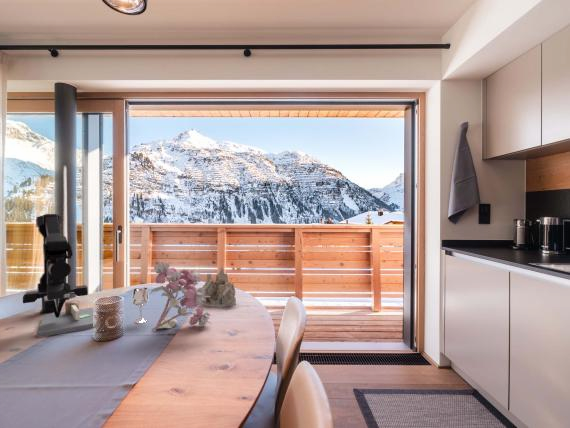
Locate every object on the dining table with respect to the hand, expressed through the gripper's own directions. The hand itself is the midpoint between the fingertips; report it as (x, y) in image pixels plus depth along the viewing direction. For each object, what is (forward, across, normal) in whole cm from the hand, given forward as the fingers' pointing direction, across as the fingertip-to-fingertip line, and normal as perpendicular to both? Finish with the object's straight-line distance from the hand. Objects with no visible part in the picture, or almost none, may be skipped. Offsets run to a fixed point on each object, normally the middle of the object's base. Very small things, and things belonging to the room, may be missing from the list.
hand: (57, 317), depth 113 cm
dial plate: (+3, +3, +1) cm, 4 cm away
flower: (+3, +39, -27) cm, 48 cm away
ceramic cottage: (+3, +58, -6) cm, 59 cm away
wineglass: (+3, +26, -12) cm, 29 cm away
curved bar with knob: (+1, +5, +4) cm, 6 cm away
